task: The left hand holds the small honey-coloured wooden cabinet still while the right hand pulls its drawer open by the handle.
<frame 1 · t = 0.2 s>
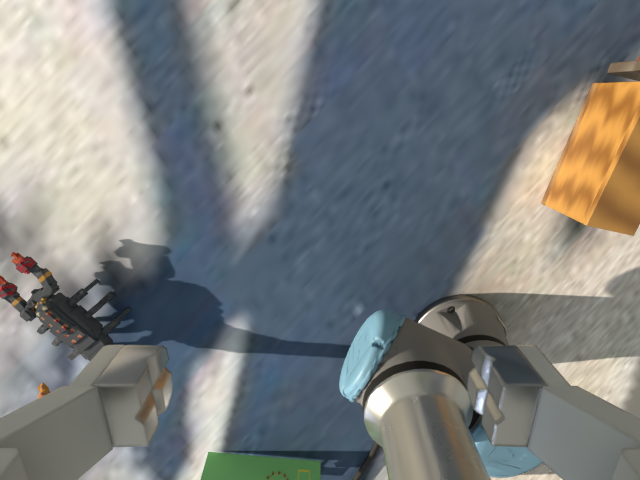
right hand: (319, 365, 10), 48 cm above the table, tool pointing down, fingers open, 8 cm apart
toy: (83, 308, 65), on the table
cabinet: (586, 151, 56), on the table
drawer: (635, 109, 49), point 5 cm above the table, slide at 1.4 cm
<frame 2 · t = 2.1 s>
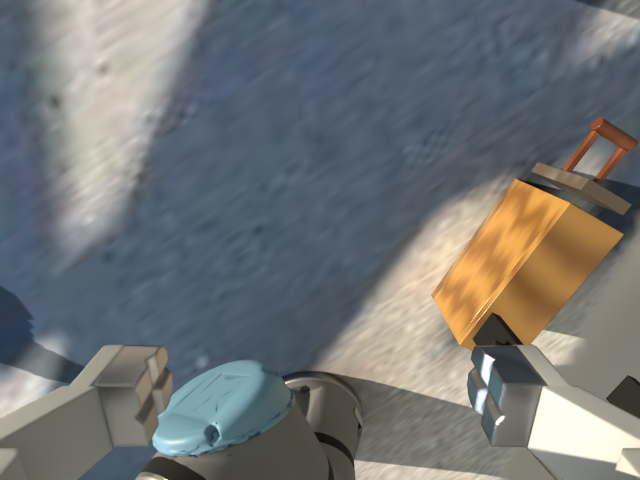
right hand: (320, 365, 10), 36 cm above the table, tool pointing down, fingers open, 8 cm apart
cabinet: (492, 251, 48), on the table
drawer: (547, 223, 41), point 5 cm above the table, slide at 1.4 cm
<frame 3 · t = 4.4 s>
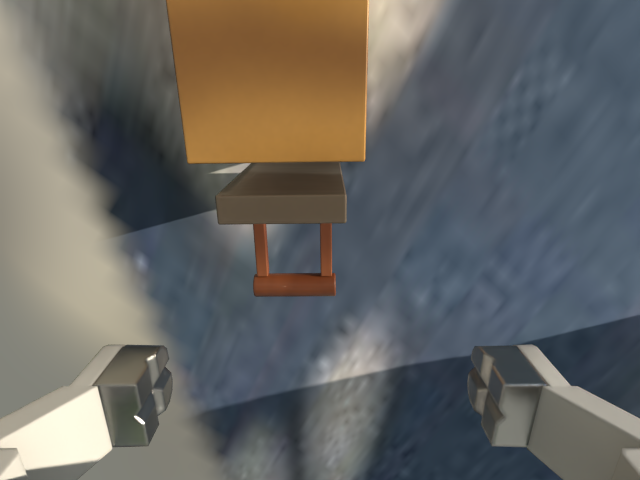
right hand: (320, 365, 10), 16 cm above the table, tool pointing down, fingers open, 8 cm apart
drawer: (286, 90, 18), point 5 cm above the table, slide at 1.4 cm
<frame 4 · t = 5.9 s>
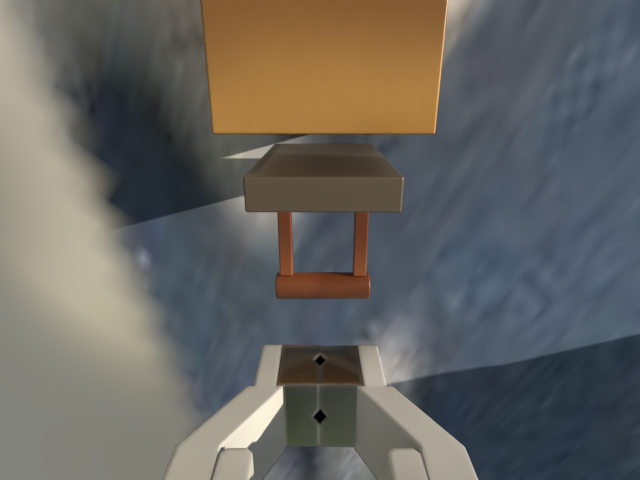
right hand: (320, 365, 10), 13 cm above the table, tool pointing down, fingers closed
drawer: (323, 55, 15), point 5 cm above the table, slide at 1.4 cm
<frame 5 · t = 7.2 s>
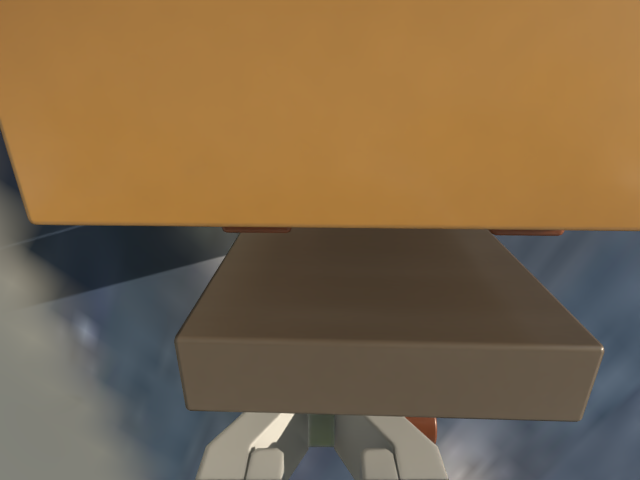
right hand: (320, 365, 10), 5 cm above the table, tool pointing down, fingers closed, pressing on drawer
drawer: (370, 21, 7), point 5 cm above the table, slide at 1.8 cm, touching right hand
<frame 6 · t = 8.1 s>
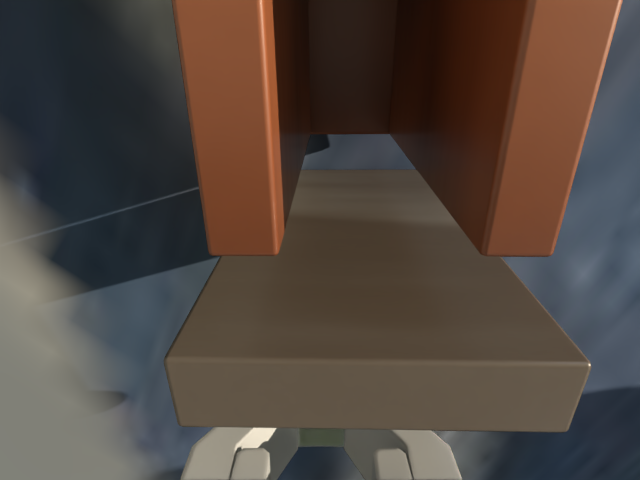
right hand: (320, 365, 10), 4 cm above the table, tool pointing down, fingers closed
drawer: (360, 20, 7), point 5 cm above the table, slide at 7.7 cm, touching right hand
when the left hand's fingers open (5 cm above the table, at t = 9.7 s): cabinet stays where it is, on the table.
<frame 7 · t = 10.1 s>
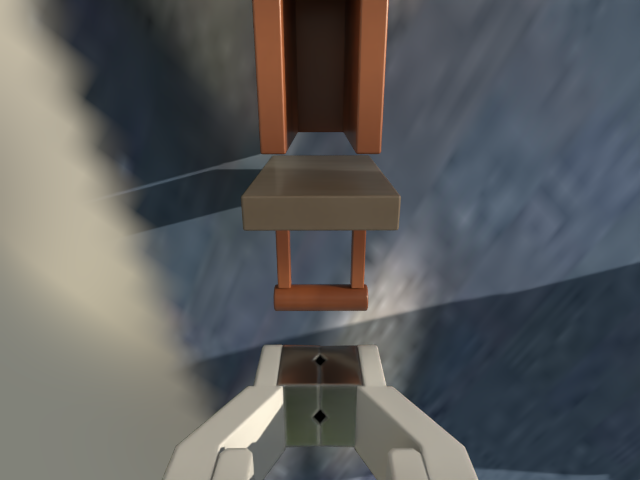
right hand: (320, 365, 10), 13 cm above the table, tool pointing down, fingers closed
drawer: (320, 71, 15), point 5 cm above the table, slide at 7.8 cm
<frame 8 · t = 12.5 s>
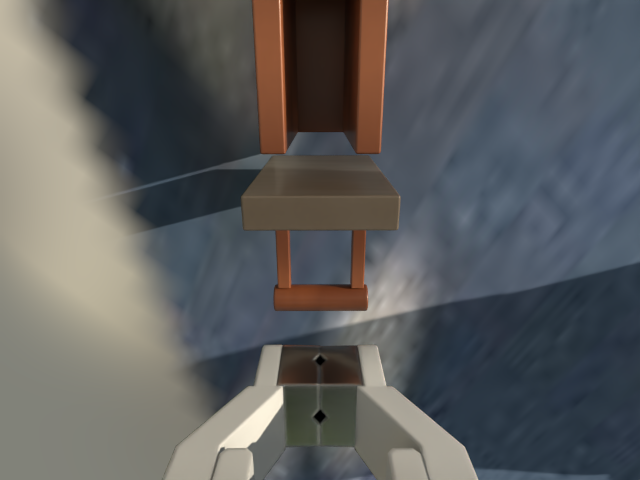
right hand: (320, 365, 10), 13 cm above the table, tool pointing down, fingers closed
drawer: (320, 71, 15), point 5 cm above the table, slide at 7.8 cm
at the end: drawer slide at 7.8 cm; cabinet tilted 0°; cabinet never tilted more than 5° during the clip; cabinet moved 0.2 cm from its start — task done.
